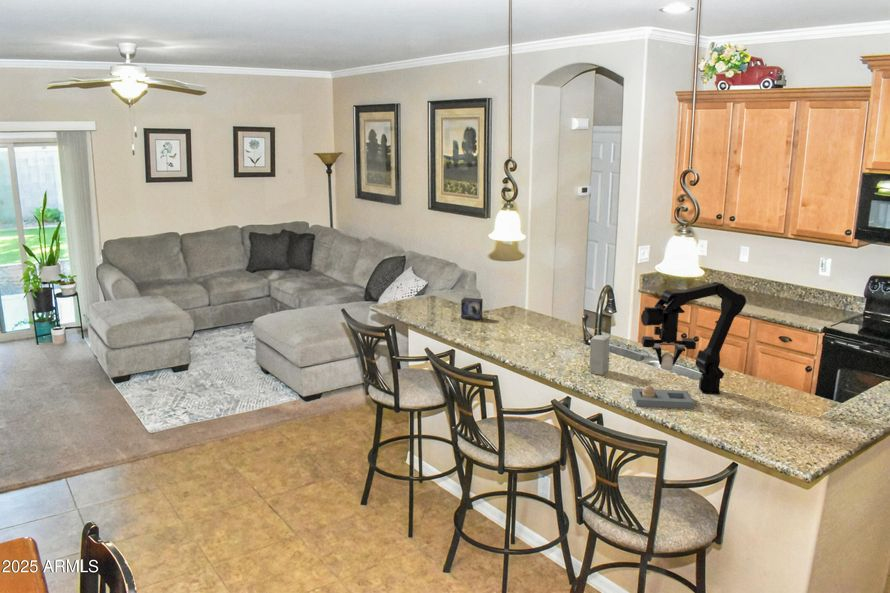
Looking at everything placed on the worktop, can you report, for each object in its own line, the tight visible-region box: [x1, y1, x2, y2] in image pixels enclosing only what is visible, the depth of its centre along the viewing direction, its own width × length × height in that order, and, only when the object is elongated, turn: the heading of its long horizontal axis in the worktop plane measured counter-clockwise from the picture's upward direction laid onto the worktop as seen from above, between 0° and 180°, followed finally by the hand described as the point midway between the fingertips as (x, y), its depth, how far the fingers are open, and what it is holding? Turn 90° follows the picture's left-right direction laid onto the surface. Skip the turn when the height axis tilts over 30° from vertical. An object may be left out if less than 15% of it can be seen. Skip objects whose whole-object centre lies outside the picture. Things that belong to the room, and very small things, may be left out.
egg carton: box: [631, 385, 695, 410], centre depth 256 cm, size 20×12×6 cm, turn 83°
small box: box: [460, 297, 483, 321], centre depth 376 cm, size 11×6×10 cm, turn 73°
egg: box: [659, 352, 674, 371], centre depth 262 cm, size 4×4×6 cm
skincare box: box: [588, 334, 611, 376], centre depth 288 cm, size 8×6×15 cm
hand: (666, 364), depth 262 cm, fingers closed on egg, 4 cm apart
